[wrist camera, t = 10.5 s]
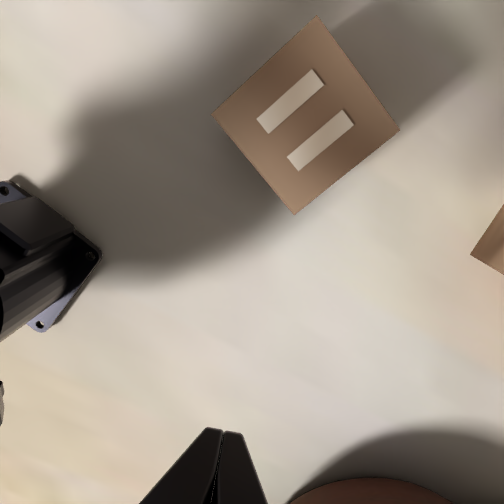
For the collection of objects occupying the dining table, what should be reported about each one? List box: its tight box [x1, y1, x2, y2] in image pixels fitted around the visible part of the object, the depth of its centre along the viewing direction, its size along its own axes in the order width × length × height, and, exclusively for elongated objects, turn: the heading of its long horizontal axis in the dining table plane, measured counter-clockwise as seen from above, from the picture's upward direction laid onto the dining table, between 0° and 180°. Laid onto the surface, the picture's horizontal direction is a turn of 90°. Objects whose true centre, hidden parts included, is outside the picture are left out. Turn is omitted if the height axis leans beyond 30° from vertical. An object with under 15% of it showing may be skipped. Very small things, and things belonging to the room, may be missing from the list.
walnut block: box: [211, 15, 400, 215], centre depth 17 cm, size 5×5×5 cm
